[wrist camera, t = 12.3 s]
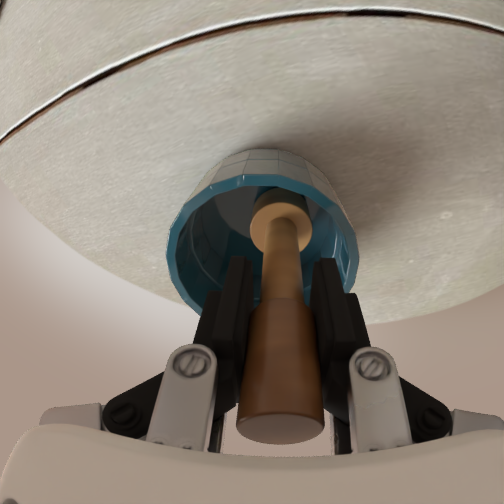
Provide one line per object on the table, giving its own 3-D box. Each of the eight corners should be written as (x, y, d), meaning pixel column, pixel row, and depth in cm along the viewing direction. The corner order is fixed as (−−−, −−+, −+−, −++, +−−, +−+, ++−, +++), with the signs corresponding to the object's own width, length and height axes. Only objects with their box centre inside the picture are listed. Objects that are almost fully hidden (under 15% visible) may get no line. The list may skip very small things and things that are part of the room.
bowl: (344, 149, 16) (373, 179, 11) (329, 278, 20) (341, 337, 16) (187, 148, 16) (151, 177, 12) (201, 275, 21) (182, 331, 16)
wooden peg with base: (310, 188, 16) (360, 399, 5) (307, 238, 18) (331, 449, 7) (252, 187, 16) (206, 397, 6) (253, 237, 18) (222, 447, 7)
